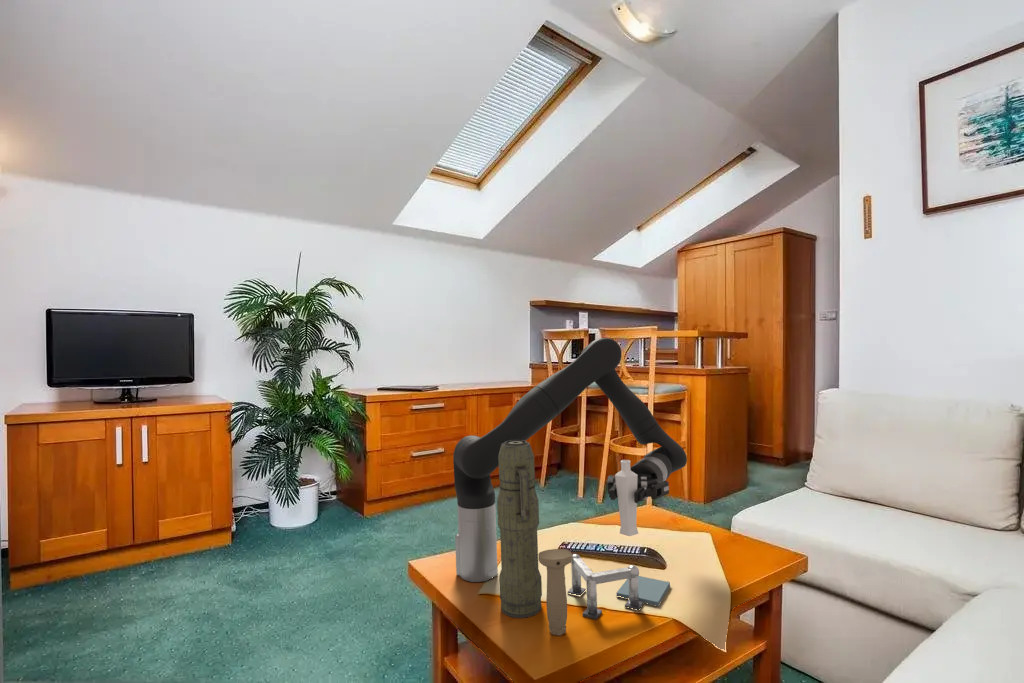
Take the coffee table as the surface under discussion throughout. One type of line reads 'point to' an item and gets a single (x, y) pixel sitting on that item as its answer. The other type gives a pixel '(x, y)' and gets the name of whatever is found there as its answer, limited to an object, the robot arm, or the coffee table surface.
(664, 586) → the slate mat
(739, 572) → the coffee table surface
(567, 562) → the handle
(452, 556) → the coffee table surface
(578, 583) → the bent rail
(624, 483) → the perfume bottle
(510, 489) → the thermos
